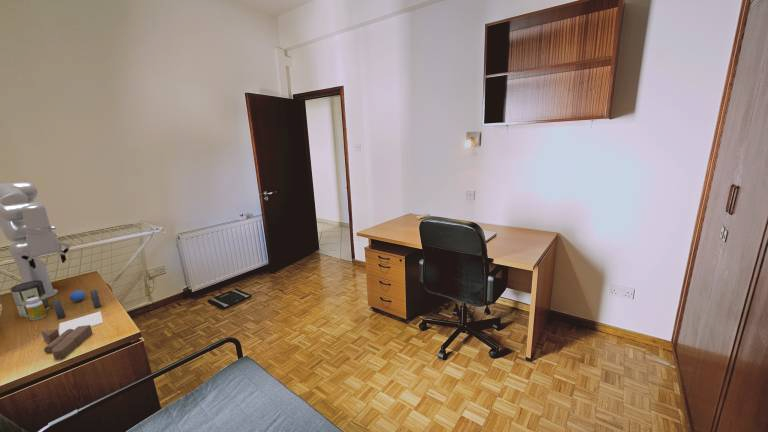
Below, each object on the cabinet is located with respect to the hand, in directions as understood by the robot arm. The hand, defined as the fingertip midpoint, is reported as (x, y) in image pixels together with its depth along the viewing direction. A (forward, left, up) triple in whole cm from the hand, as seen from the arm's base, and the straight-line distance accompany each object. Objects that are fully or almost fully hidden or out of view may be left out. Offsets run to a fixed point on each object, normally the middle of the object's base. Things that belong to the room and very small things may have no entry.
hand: (49, 264), depth 147 cm
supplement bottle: (+3, -8, -23) cm, 25 cm away
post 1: (+12, 0, -23) cm, 26 cm away
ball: (-4, +6, -20) cm, 22 cm away
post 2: (+12, +12, -23) cm, 29 cm away
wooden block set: (+43, -2, -24) cm, 49 cm away
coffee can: (-6, -9, -23) cm, 26 cm away
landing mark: (+26, +6, -23) cm, 35 cm away
